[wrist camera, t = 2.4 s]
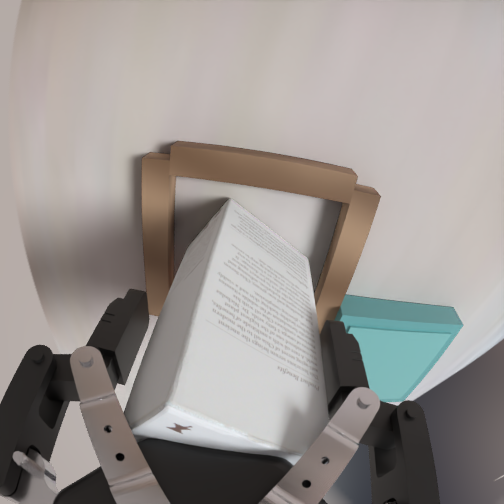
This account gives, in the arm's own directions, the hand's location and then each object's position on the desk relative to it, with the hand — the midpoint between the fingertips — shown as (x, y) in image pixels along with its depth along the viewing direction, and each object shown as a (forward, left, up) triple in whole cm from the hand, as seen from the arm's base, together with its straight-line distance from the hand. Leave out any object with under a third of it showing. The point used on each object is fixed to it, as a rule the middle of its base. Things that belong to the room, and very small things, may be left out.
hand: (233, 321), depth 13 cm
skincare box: (0, 0, -6) cm, 6 cm away
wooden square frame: (0, 0, -6) cm, 6 cm away
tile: (+7, +11, -6) cm, 14 cm away
